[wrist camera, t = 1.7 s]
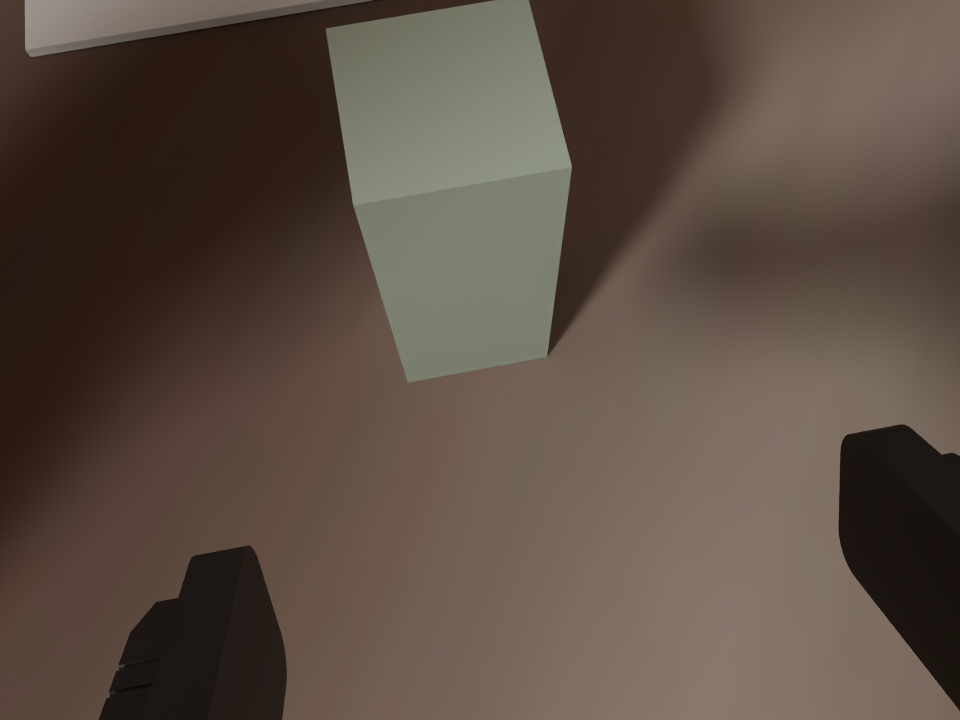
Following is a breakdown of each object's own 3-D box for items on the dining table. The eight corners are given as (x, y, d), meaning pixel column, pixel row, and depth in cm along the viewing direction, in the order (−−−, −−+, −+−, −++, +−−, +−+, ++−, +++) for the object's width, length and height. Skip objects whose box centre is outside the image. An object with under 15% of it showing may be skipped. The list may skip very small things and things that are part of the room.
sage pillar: (408, 382, 28) (353, 205, 18) (386, 257, 30) (325, 28, 20) (547, 356, 28) (572, 166, 18) (519, 233, 30) (527, -5, 20)
